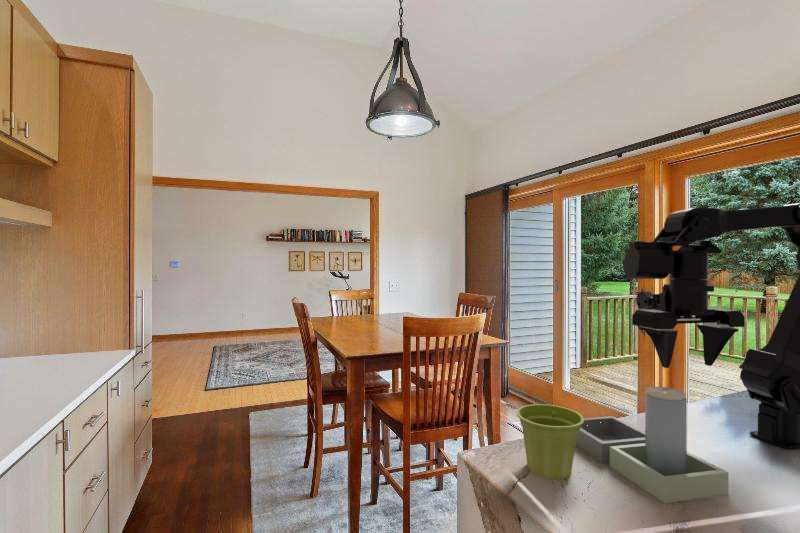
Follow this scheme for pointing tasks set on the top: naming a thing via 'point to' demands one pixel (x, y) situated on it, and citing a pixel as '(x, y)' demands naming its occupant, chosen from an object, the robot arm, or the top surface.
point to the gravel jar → (665, 430)
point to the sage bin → (673, 488)
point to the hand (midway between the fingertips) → (687, 366)
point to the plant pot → (550, 438)
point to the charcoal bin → (606, 436)
